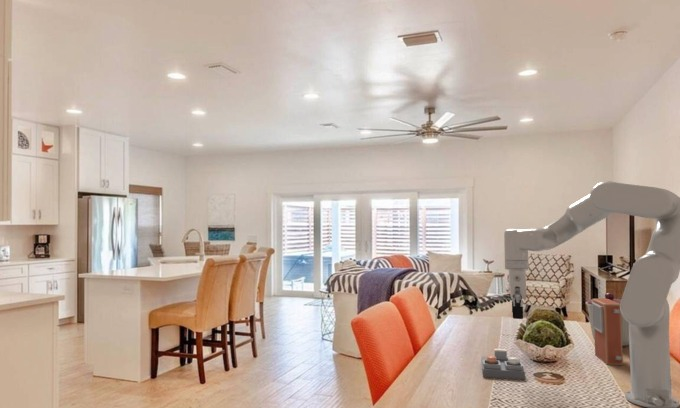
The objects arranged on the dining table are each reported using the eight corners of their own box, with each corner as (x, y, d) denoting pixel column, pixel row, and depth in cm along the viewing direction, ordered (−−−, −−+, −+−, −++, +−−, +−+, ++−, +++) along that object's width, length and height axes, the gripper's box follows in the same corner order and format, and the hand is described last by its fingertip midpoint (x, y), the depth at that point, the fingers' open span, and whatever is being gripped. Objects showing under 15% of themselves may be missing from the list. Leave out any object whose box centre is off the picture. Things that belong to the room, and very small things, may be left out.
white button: (519, 364, 154) (518, 360, 154) (508, 364, 155) (508, 359, 155) (518, 361, 157) (518, 357, 157) (508, 361, 158) (507, 356, 158)
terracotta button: (496, 363, 156) (496, 358, 156) (486, 362, 157) (486, 358, 157) (496, 360, 159) (496, 356, 159) (486, 360, 160) (486, 355, 160)
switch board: (524, 379, 151) (524, 367, 152) (483, 376, 155) (482, 365, 155) (519, 366, 166) (519, 355, 166) (481, 363, 169) (481, 353, 169)
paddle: (507, 359, 165) (506, 350, 165) (494, 359, 166) (494, 350, 166) (506, 358, 167) (506, 349, 167) (494, 357, 168) (494, 348, 168)
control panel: (611, 354, 178) (626, 366, 164) (591, 354, 180) (605, 365, 165) (608, 298, 180) (624, 304, 165) (589, 297, 181) (602, 304, 166)
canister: (628, 339, 201) (626, 290, 202) (644, 350, 184) (642, 296, 185) (582, 337, 206) (580, 289, 207) (593, 348, 188) (591, 295, 189)
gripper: (529, 267, 150) (530, 321, 149) (527, 263, 166) (528, 311, 165) (505, 267, 152) (505, 320, 151) (504, 262, 168) (505, 310, 168)
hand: (517, 315), depth 158 cm, fingers open, 9 cm apart
